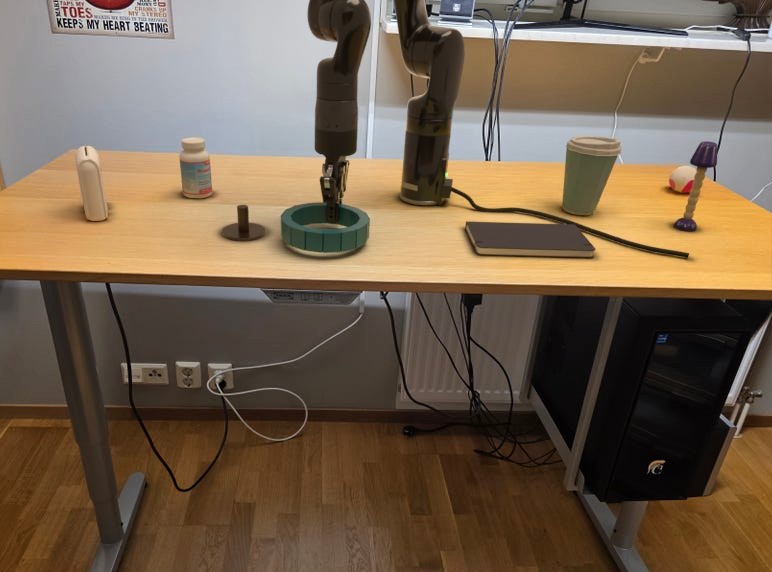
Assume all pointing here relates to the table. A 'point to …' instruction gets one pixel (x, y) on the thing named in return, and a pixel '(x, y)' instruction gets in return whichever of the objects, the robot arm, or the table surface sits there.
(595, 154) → the disposable coffee cup
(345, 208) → the ring
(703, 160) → the toy lamp
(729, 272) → the table surface
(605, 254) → the table surface
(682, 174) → the stress ball
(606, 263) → the table surface
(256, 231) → the peg stand
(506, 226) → the notebook
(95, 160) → the photo printer
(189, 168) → the pill bottle
